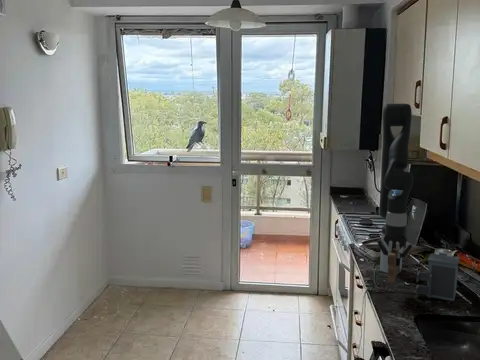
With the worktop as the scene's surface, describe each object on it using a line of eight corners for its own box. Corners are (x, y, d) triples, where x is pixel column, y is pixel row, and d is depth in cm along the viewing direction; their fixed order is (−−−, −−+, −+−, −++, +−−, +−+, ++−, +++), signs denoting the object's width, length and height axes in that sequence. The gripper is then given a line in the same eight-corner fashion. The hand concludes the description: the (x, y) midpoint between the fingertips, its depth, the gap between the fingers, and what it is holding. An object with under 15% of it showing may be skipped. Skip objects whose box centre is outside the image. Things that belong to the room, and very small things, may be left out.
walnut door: (393, 271, 195) (394, 245, 193) (401, 273, 194) (403, 246, 192) (387, 282, 185) (388, 254, 183) (396, 283, 183) (398, 255, 181)
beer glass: (451, 285, 202) (454, 250, 199) (448, 290, 196) (450, 254, 194) (434, 281, 206) (436, 247, 203) (430, 286, 200) (432, 251, 197)
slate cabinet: (419, 287, 199) (421, 252, 197) (456, 293, 193) (459, 257, 190) (415, 297, 189) (417, 260, 186) (454, 304, 183) (457, 266, 180)
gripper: (416, 222, 186) (413, 265, 189) (379, 218, 192) (377, 260, 195) (413, 227, 179) (410, 272, 182) (375, 223, 186) (373, 266, 189)
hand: (393, 266), depth 189 cm, fingers closed on walnut door, 2 cm apart
